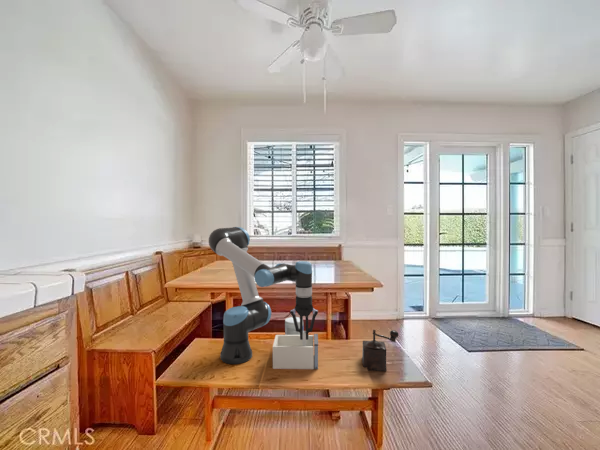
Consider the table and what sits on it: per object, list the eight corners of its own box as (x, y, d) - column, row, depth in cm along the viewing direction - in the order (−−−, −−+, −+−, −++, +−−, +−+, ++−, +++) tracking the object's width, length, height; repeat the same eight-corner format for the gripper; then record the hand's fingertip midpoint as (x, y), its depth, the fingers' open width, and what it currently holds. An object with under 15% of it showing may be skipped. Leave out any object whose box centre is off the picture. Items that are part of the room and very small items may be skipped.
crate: (272, 371, 147) (272, 346, 147) (276, 357, 161) (275, 334, 161) (313, 371, 147) (313, 347, 146) (313, 357, 161) (313, 335, 160)
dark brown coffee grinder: (362, 370, 147) (362, 330, 146) (361, 359, 158) (362, 322, 157) (398, 373, 145) (399, 332, 144) (395, 361, 156) (396, 323, 155)
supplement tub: (307, 348, 170) (307, 320, 170) (291, 353, 165) (291, 324, 164) (297, 342, 178) (296, 315, 178) (281, 346, 173) (281, 318, 172)
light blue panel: (314, 369, 147) (314, 345, 146) (313, 354, 161) (313, 332, 160) (318, 369, 147) (318, 345, 146) (317, 354, 160) (317, 332, 160)
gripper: (289, 297, 148) (289, 349, 150) (318, 297, 148) (318, 349, 149) (290, 293, 156) (290, 342, 157) (318, 293, 156) (318, 342, 157)
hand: (304, 346), depth 153 cm, fingers closed
